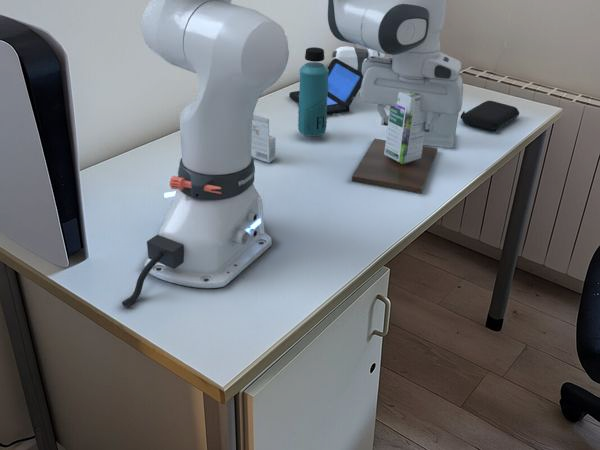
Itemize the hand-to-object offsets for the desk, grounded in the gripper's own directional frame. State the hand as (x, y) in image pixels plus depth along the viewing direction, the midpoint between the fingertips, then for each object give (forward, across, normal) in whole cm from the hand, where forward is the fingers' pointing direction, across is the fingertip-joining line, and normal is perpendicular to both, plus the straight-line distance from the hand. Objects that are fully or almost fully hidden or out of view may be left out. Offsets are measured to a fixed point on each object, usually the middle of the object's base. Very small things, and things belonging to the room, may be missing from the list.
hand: (406, 128), depth 138 cm
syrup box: (+6, 0, 0) cm, 7 cm away
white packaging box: (+8, +5, +15) cm, 18 cm away
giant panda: (+8, -23, +49) cm, 55 cm away
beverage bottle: (+8, -22, +6) cm, 24 cm away
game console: (+8, -25, +27) cm, 38 cm away
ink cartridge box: (+8, -31, -8) cm, 33 cm away
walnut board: (+8, -1, -2) cm, 8 cm away
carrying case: (+8, +15, +32) cm, 36 cm away
